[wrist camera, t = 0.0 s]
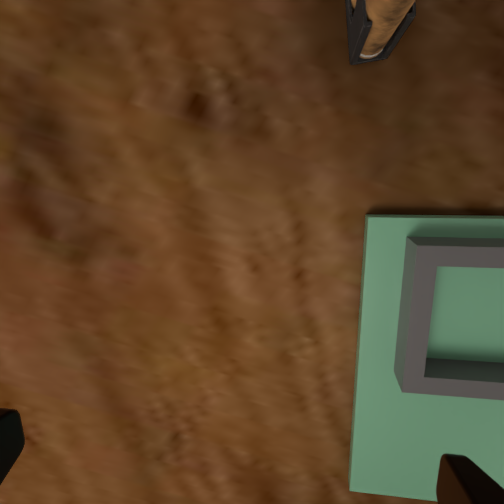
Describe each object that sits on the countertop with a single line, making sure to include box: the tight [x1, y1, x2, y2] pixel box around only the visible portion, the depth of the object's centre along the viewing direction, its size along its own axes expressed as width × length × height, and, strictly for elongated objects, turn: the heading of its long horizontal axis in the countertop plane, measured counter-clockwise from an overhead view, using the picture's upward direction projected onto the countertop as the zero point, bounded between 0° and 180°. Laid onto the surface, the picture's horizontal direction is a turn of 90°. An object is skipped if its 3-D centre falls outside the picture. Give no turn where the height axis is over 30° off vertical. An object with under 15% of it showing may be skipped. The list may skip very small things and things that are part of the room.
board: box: [348, 214, 504, 501], centre depth 20 cm, size 18×12×3 cm, turn 1°
